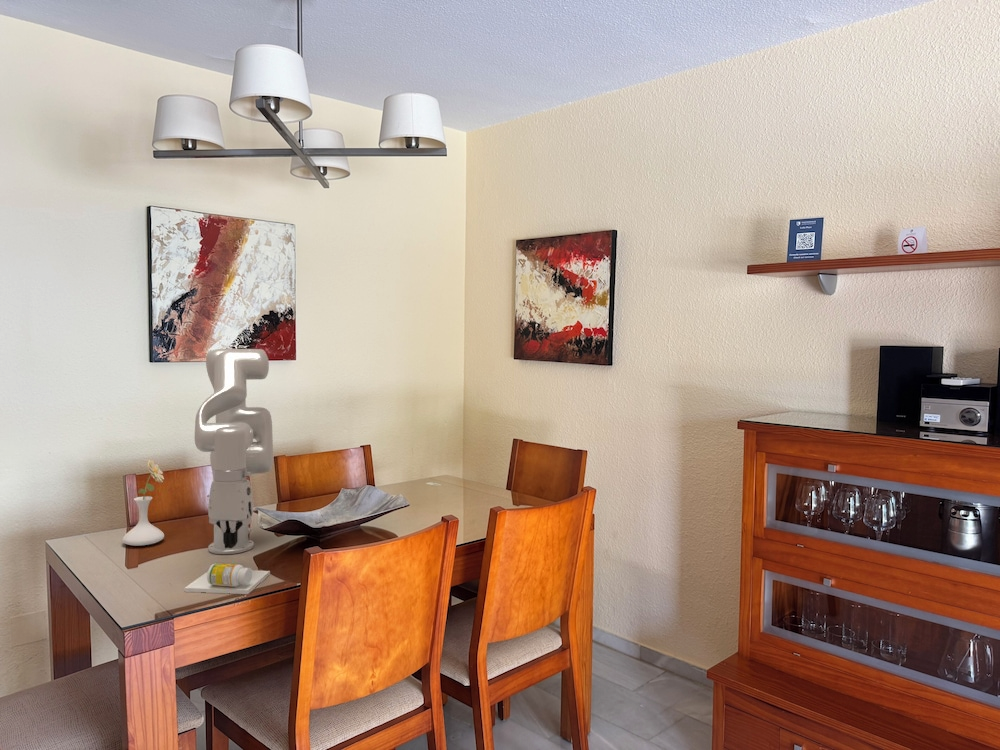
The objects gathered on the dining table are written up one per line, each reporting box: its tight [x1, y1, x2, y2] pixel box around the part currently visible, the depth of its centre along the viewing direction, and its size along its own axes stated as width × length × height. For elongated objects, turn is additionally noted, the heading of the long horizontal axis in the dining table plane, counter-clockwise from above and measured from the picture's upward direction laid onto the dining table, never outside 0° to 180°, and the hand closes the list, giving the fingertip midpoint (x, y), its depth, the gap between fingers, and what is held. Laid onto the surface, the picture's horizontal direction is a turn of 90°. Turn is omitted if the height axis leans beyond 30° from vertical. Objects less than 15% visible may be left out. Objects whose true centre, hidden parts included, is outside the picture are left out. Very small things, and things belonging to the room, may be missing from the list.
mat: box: [183, 569, 271, 595], centre depth 176 cm, size 14×16×1 cm
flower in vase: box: [121, 459, 165, 547], centre depth 209 cm, size 13×11×25 cm
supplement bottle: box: [207, 562, 252, 587], centre depth 172 cm, size 5×5×10 cm
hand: (230, 546), depth 176 cm, fingers closed
